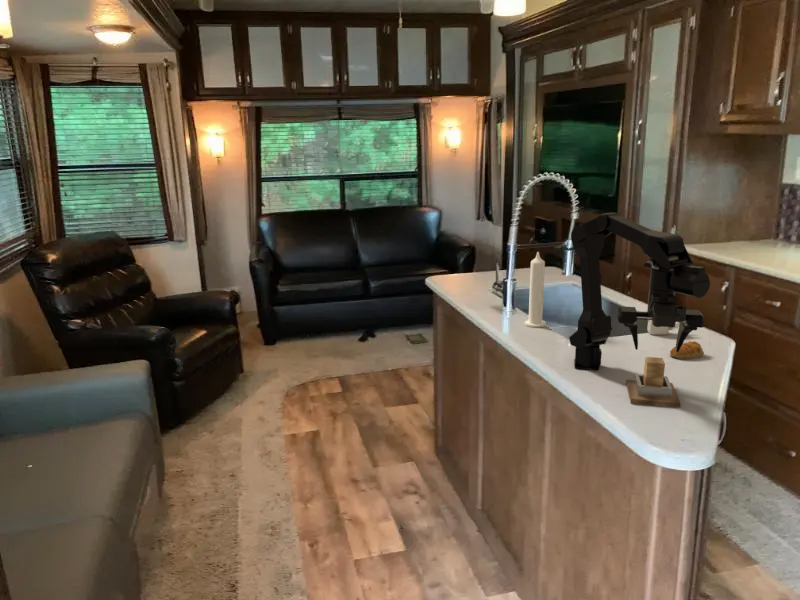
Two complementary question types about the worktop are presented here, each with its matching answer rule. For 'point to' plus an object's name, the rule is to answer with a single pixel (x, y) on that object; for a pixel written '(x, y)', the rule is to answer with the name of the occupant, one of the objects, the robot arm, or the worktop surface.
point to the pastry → (688, 351)
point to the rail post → (653, 371)
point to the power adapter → (659, 329)
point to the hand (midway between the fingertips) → (656, 350)
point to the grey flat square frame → (653, 388)
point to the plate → (648, 400)
